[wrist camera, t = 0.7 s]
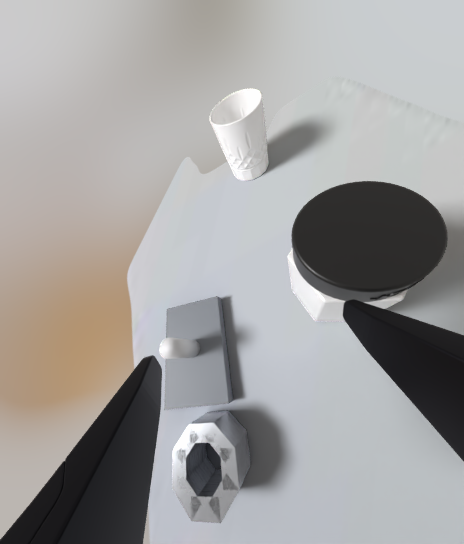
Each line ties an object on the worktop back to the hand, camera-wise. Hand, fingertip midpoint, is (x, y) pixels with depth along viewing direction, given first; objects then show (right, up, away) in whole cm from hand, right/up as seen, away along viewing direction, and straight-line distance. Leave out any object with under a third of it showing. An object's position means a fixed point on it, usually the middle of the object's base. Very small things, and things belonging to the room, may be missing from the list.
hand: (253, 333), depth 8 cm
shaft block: (-5, -7, +16) cm, 18 cm away
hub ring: (-2, -16, +11) cm, 19 cm away
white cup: (+3, +23, +26) cm, 35 cm away
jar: (+11, +1, +14) cm, 17 cm away
